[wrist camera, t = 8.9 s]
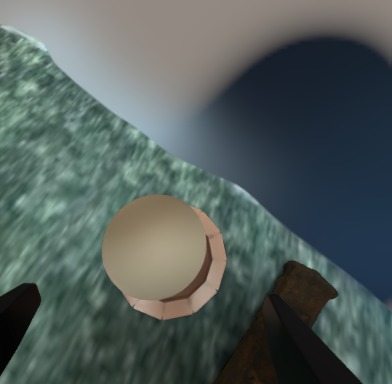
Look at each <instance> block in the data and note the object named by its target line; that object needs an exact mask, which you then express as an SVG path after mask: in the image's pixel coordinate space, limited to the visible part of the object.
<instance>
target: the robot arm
mask: <svg viewBox="0 0 392 384" xmlns="http://www.w3.org/2000/svg"><path fill="white" fill-rule="evenodd" d="M40 303H41V296H40V293H39V290H38V287H37V285H36V284H35V283H23V284H21V285H19V286H17V287H16V288H14V289H12V290H11V291H9V292H7V293H6V294H4V295H2V296H0V376H1V374H2V372H3V371H4V369H5V368H6V366H7V364H8V363H9V361H10V360H11V358H12V356H13V355H14V353H15V351H16V350H17V348H18V346H19V344H20V343H21V341H22V339H23V337H24V335H25V333H26V331H27V329H28V327H29V325H30V323H31V321H32V319H33V317H34V315H35V313H36V311H37V309H38V307H39V305H40ZM263 317H264V322H265V327H266V333H267V338H268V344H269V349H270V354H271V359H272V362H273V366H274V370H275V373H276V377H277V380H278V384H363V383H362V382H361V381H360V380H359V379H358V378H357V377H356V376H355V375H354V374H353V373H352V372H351V371H350V370H349V369H348V368H347V367H346V366H345V364H344V363H343V362H342V361H341V360H340V359H339V358H338V357H337V356H336V355H335V354H334V353H333V352H332V351H331V350H330V349H329V348H328V346H327V345H326V344H325V343H324V342H323V341H322V340H321V339H320V338H319V337H318V336H317V335H316V334H315V333H314V332H313V331H312V330H311V328H310V327H309V326H308V325H307V324H306V323H305V322H304V321H303V320H302V319H301V318H300V317H299V316H298V315H297V314H296V313H295V312H294V311H293V309H292V308H291V307H290V306H289V305H288V304H287V303H286V302H285V301H284V300H283V299H282V298H281V297H280V296H279V295H278V294H275V293H267V294H266V297H265V301H264V305H263Z"/></svg>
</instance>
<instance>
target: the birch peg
mask: <svg viewBox="0 0 392 384" xmlns="http://www.w3.org/2000/svg"><path fill="white" fill-rule="evenodd" d="M205 254H206V234H205V230H204V227H203V224H202V222H201V220H200V218H199V217H198V215H197V214H196V212H195V211H194V210H193V209H192V208H191V207H190V206H189V205H187V204H186V203H185V202H183V201H181V200H179V199H177V198H175V197H171V196H167V195H148V196H143V197H140V198H138V199H135V200H133V201H131V202H130V203H128V204H127V205H125V206H124V207H123V208H121V209H120V210H119V211H118V212H117V213H116V215H115V216H114V217H113V219H112V220H111V222H110V223H109V225H108V227H107V229H106V232H105V235H104V238H103V244H102V257H103V263H104V267H105V269H106V272H107V274H108V276H109V278H110V279H111V281H112V282H113V283H114V284H115V285H116V286H117V287H118V288H119V289H120V290H121V291H123V292H124V293H125V294H127V295H129V296H131V297H134V298H137V299H141V300H152V301H154V300H161V299H165V298H169V297H171V296H173V295H175V294H177V293H179V292H181V291H182V290H183V289H185V288H186V287H187V286H188V285H189V284H190V283H191V282H192V281H193V280H194V279H195V277H196V276H197V274H198V273H199V271H200V269H201V267H202V264H203V262H204V258H205Z"/></svg>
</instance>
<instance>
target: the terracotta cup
mask: <svg viewBox="0 0 392 384" xmlns="http://www.w3.org/2000/svg"><path fill="white" fill-rule="evenodd" d="M190 207H191V206H190ZM191 208H192V209H193V210H194V211H195V212H196V214H197V215H198V217H199V218H200V220H201V222H202V224H203V227H204V230H205V234H206V254H205V258H204V262H203V264H202V267H201V269H200V271H199V273H198V274H197V276H196V277H195V279H194V280H193V281H192V282H191V283H190V284H189V285H188V286H187V287H186V288H185V289H183V290H182V291H181V292H179V293H177V294H175V295H173V296H171V297H169V298H165V299H161V300H154V301H152V300H141V299H137V298H134V297H131V296H129V295H127V294H125V293H124V292H123V291H122V293H123V294H124V296H125V297H126V299H127V300H128V302H129V303H130V305H131V306H132V307H133V306H134V305H135V306H134V309H136V310H139V311H141V312H143V313H146V314H148V315H150V316H153V317H155V318H158V319H160V320H161V319H162V317H163V320H166V319H171V318H176V317H181V316H186V315H191V314H193V311H194V313H196V312H197V311H198V310H199V309H200V308H201V307H202V306H203V305H204V304H205V303H206V302H207V301H208V300H209V299H210V298H211V297H213V296H214V295H215V294H216V293H217V291H216V290H218V289H219V286H220V283H221V279H222V276H223V273H224V269H225V266H226V263H227V262H225V261H226V260H227V259H226V254H225V249H224V244H223V240H222V235H221V233H219V232H220V230H219V229H218V228H217V227H216V226H215V225H214V223H213V222H212V221H211V220H210V219H209V218H208V216H207V215H206V214H205V213H204V212H202V210H199V209H196V208H193V207H191ZM201 212H202V213H201ZM215 289H216V290H215Z"/></svg>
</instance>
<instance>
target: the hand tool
mask: <svg viewBox="0 0 392 384" xmlns="http://www.w3.org/2000/svg"><path fill="white" fill-rule="evenodd" d="M275 284H276V287H275V289H274V291H273V292H272V293H275V294H278V295H279V296H280V297H281V298H282V299H283V300H284V301H285V302H286V303H287V304H288V305H289V306H290V307H291V308H292V309H293V311H294V312H295V313H296V314H297V315H298V316H299V317H300V318H301V319H302V320H303V321H304V322H305V323H306V324H307V325H308V326H309V327H310V328H312V326H313V324H314V323H315V321H316V319H317V317H318V315H319V313H320V312H321V310H322V308H323V307H324V306H325V304H326V303H327V302H328V300H331V299H334V298H336V297H337V296H338V292H337V291H336V289H335V288H334V287H333V286H332V285H331V284H330V283H328V282H327V281H326V280H325V279H324V278H323V277H322V276H321V275H320V273H318V272H317V271H316V270H314V269H311V268H308V267H306V266H305V265H303V264H300V263H298V262H296V261H293V260H292V261H288V262H287V263H286V264H285V265H284V275H283V276H281V277H280V278H279V279H277V280H276V282H275ZM263 305H264V304H263ZM263 305H262V307H261V309H260V311H259V312H258V313H257V315H256V319H255V321H254V322H253V324H252V326H251V327H250V329H249V330H248V331H247V333H246V334H245V335H244V336H243V337H242V339H241V342H240V343H239V345H238V347H237V348H236V350H235V352H234V353H233V355H232V357H231V358H230V360H229V361H228V363H227V365H226V366H225V368H224V369H223V371H222V373H221V374H220V375H219V377H218V378H217V380H216V382H215V383H214V384H278V380H277V377H276V373H275V370H274V366H273V362H272V359H271V354H270V349H269V344H268V338H267V333H266V327H265V322H264V317H263Z"/></svg>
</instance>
